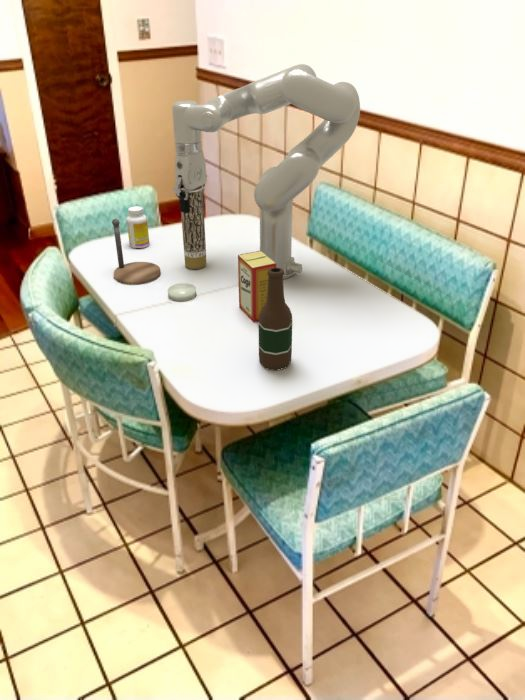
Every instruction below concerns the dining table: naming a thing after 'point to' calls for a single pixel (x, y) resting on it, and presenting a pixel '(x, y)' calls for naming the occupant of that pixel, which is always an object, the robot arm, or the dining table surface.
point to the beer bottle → (275, 325)
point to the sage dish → (182, 292)
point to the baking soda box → (253, 282)
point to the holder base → (132, 265)
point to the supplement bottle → (137, 228)
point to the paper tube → (194, 231)
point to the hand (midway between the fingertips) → (192, 207)
